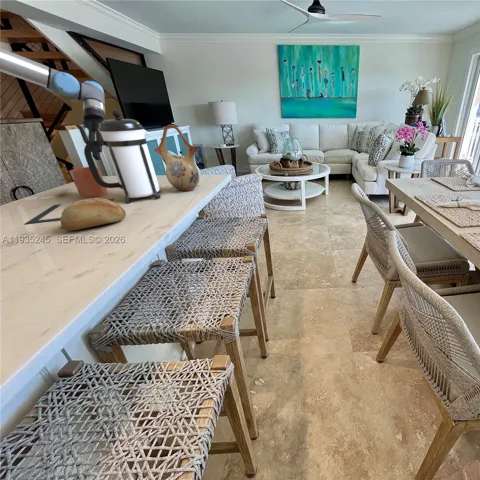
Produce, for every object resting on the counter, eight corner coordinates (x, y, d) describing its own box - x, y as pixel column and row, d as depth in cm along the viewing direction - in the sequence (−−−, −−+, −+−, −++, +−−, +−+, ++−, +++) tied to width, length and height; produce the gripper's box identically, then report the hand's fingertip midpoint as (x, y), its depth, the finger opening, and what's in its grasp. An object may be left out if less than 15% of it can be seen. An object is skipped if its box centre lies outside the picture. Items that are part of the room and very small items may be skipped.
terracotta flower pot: (76, 199, 100) (64, 172, 95) (85, 192, 107) (75, 167, 103) (104, 196, 103) (93, 170, 98) (111, 190, 110) (101, 166, 105)
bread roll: (128, 224, 78) (119, 198, 74) (62, 238, 70) (48, 210, 67) (127, 214, 85) (118, 190, 81) (66, 226, 77) (53, 200, 74)
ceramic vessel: (209, 186, 114) (196, 123, 103) (204, 192, 107) (190, 124, 95) (169, 188, 112) (152, 124, 101) (161, 194, 104) (141, 125, 93)
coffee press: (145, 189, 110) (119, 110, 96) (174, 193, 105) (151, 109, 91) (102, 202, 96) (64, 111, 82) (133, 207, 91) (99, 110, 77)
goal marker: (24, 224, 79) (24, 223, 79) (54, 205, 94) (53, 204, 94) (96, 216, 84) (96, 215, 84) (113, 199, 99) (113, 198, 99)
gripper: (115, 119, 123) (118, 162, 117) (81, 120, 119) (82, 164, 113) (107, 106, 116) (110, 151, 110) (71, 106, 112) (72, 153, 106)
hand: (96, 157), depth 112 cm, fingers closed
